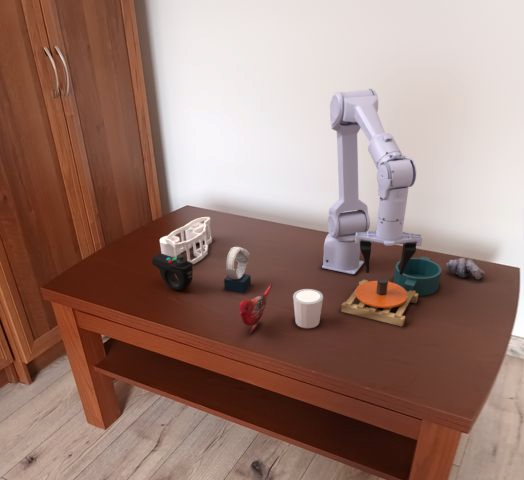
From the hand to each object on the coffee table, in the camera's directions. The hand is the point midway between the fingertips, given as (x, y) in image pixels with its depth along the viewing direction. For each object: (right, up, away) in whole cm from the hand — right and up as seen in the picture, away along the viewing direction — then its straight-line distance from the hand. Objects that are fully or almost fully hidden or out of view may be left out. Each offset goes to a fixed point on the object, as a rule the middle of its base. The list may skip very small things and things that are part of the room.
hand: (384, 271), depth 124 cm
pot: (+11, -1, +13) cm, 17 cm away
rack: (0, -8, +5) cm, 9 cm away
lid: (0, -5, +3) cm, 6 cm away
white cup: (-18, -12, +1) cm, 22 cm away
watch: (-35, -2, +15) cm, 38 cm away
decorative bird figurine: (-30, -12, 0) cm, 32 cm away
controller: (-51, -2, +16) cm, 54 cm away
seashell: (+25, +1, +16) cm, 30 cm away
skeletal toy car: (-49, +10, +32) cm, 60 cm away
